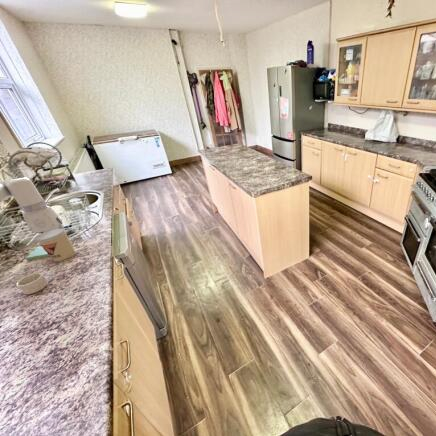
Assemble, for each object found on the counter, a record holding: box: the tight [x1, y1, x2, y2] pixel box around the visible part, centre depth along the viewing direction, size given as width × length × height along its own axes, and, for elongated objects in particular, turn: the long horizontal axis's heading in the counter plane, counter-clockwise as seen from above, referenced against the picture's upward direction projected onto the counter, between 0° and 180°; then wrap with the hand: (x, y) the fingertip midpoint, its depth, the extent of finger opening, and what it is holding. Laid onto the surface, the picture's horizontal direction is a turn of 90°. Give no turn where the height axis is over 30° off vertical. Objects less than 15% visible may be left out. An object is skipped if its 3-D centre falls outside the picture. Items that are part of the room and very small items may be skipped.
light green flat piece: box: [25, 245, 50, 261], centre depth 108 cm, size 12×10×3 cm
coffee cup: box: [35, 228, 76, 262], centre depth 102 cm, size 9×9×12 cm
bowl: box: [15, 272, 49, 295], centre depth 87 cm, size 7×7×4 cm
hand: (57, 241), depth 110 cm, fingers closed
